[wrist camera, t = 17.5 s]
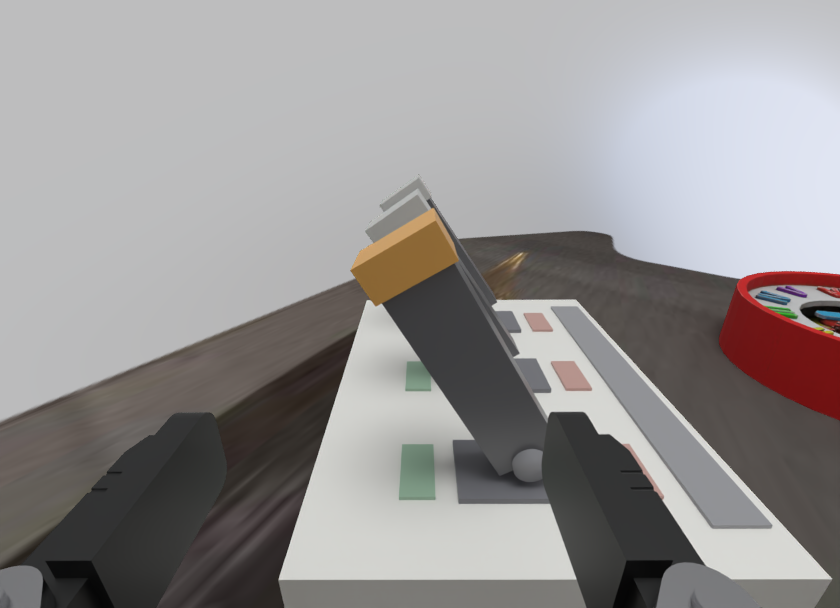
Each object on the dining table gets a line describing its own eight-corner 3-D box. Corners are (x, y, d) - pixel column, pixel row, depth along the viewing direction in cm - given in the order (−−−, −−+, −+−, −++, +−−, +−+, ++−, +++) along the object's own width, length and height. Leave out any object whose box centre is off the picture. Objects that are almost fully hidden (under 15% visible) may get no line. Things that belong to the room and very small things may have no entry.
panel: (293, 644, 16) (277, 574, 14) (369, 337, 40) (366, 297, 38) (791, 643, 16) (835, 573, 14) (569, 336, 40) (576, 296, 38)
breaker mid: (482, 389, 25) (364, 231, 21) (476, 367, 28) (370, 221, 24) (530, 363, 24) (417, 194, 20) (520, 343, 27) (417, 188, 23)
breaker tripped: (504, 494, 18) (349, 271, 14) (494, 451, 20) (360, 250, 16) (576, 465, 17) (435, 221, 13) (557, 424, 20) (433, 207, 15)
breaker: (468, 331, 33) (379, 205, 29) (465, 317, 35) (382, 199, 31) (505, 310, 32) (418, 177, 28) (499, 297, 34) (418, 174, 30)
